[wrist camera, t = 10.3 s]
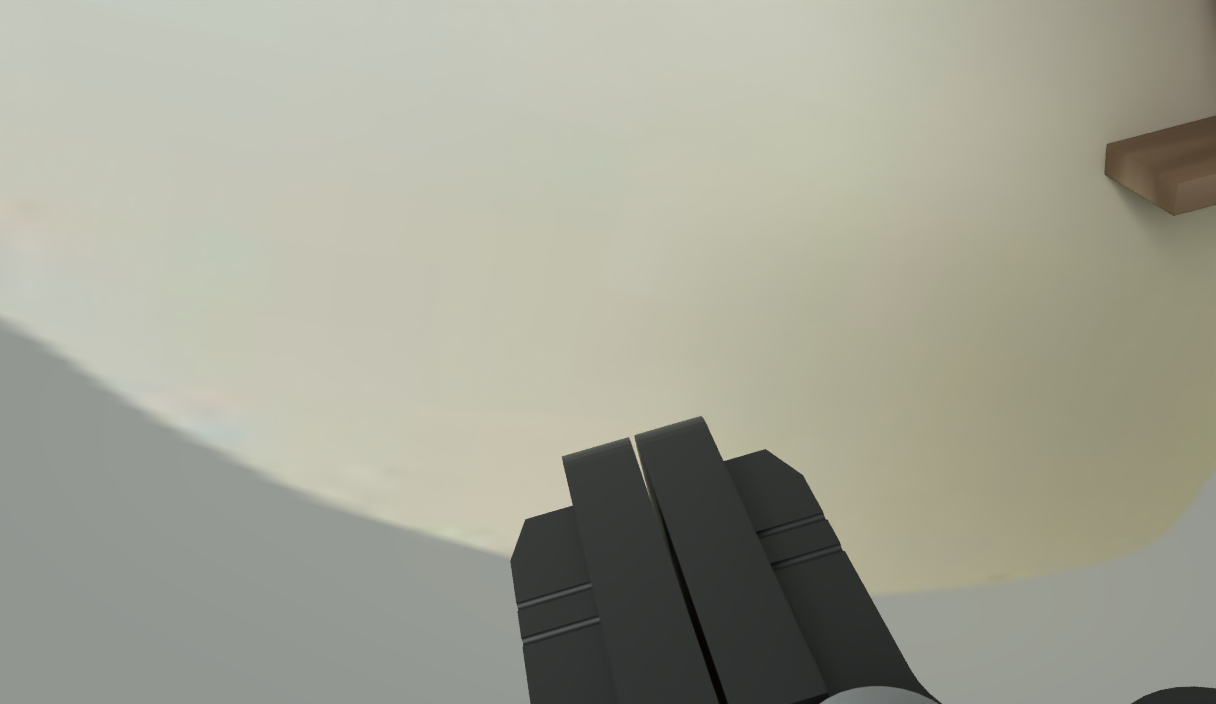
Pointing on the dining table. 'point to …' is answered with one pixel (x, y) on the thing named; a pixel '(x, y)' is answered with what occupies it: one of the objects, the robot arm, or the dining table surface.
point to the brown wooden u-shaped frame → (1169, 166)
